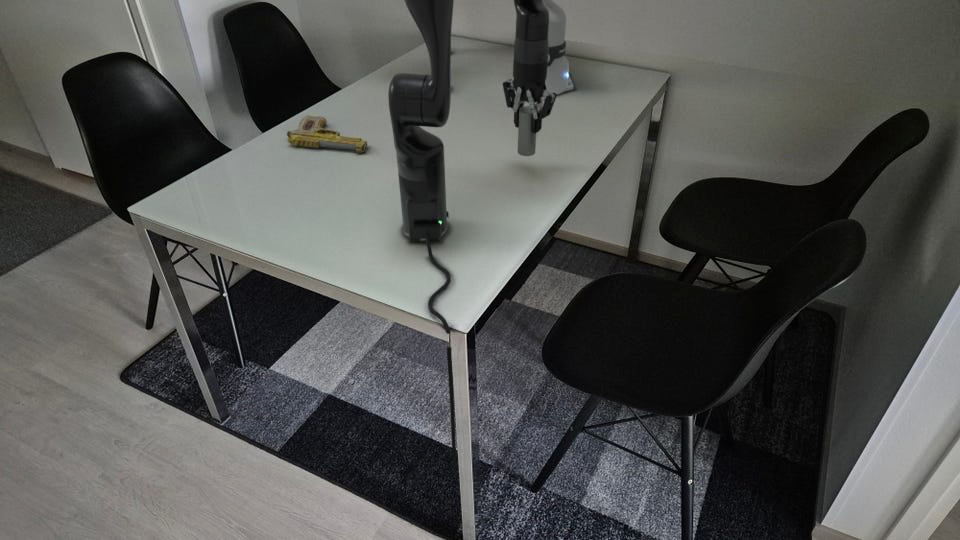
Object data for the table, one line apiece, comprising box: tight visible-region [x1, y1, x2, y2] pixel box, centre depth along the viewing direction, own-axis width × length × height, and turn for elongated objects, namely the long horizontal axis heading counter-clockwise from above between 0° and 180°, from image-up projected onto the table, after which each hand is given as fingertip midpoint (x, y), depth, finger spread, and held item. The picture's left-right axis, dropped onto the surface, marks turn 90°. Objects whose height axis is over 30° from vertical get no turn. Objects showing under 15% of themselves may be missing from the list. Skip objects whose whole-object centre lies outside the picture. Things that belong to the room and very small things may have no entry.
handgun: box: [286, 115, 368, 154], centre depth 166 cm, size 2×23×15 cm
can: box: [517, 105, 538, 157], centre depth 148 cm, size 4×4×11 cm
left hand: (527, 128), depth 147 cm, fingers closed on can, 4 cm apart
